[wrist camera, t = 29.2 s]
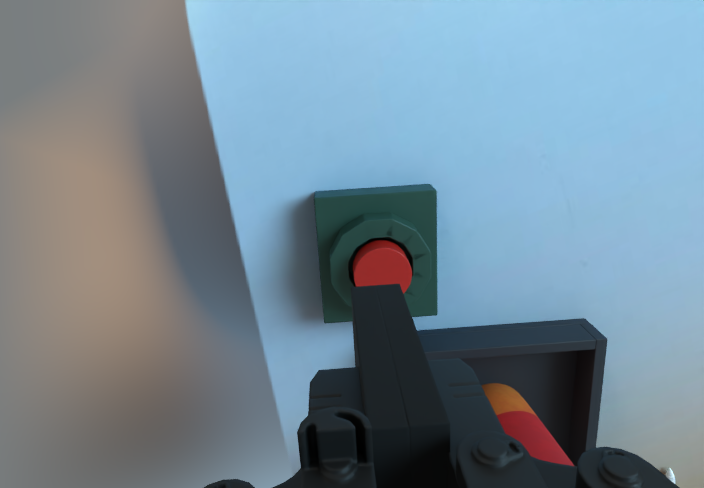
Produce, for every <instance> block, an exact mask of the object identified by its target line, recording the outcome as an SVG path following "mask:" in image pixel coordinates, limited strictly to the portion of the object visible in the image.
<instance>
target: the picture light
mask: <svg viewBox="0 0 704 488" xmlns="http://www.w3.org/2000/svg"><path fill="white" fill-rule="evenodd" d="M666 477H667V478H668V479H669V480H671V481H672V482H673V483H674V484H675V478H674V474H673V472H672V470H671V468H668V470H667V472H666Z"/></svg>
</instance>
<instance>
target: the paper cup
mask: <svg viewBox="0 0 704 488" xmlns="http://www.w3.org/2000/svg"><path fill="white" fill-rule="evenodd" d="M481 386H482V388H483V390H484V392H485V395H486V396H487V398H488V400H489V402H490V404H491V406H492V408H493V410H494V412H495V414H496V415H497V417H498V419H499V421H500V423H501V425H502V427H503V429H504V431H505V433H506V434H507V435H510V436H511V437H513V438H515V439H516V440H518V441H519V442H521V443H522V445H523V446H524V447H525V448H526V449H527V451H528V452H529V454H530V456H532V457H534V458H537V459H539V460H543V461H548V462H552V463H558V464H565V465H571V466H574V465H573V463H572V462H571V461H570V459H569V458H568V457H567V455H566V454H565V452H564V451H563V450H562V448H561V447H560V446H559V444H558V443H557V442H556V440H555V439H554V438H553V436H552V435H551V434H550V432H549V431H548V430H547V428H546V427H545V426H544V424H543V423H542V422H541V420H540V419H539V418H538V416H537V415H536V414H535V413H534V411H533V410H532V409H531V407H530V406H529V405H528V403H527V402H526V401H525V400H524V398H523V397H522V396H521V395H520V394H519V393H518V392H517V391H516V390H515V389H513V388H511V387H510V386H507V385H504V384H499V383H490V384H485V385H481Z"/></svg>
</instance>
